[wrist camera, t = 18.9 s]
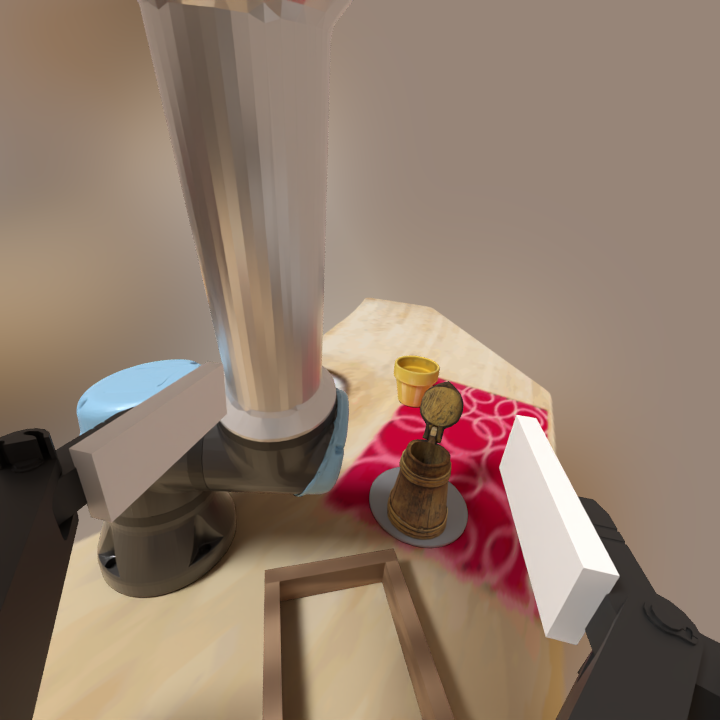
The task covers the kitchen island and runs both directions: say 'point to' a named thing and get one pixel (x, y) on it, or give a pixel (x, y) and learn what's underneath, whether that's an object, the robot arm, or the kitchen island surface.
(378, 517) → the grey mat
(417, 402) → the plant pot
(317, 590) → the frame
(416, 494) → the wooden mug
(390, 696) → the kitchen island surface
